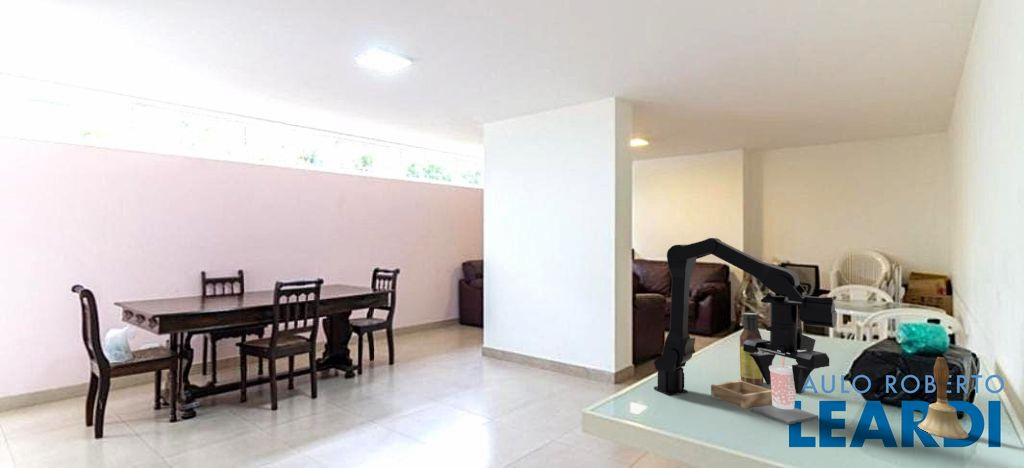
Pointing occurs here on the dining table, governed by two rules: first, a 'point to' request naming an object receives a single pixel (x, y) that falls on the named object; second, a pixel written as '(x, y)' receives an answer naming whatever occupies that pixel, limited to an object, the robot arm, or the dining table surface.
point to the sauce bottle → (747, 363)
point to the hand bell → (942, 408)
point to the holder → (733, 395)
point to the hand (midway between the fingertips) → (783, 388)
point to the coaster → (784, 414)
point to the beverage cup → (782, 386)
